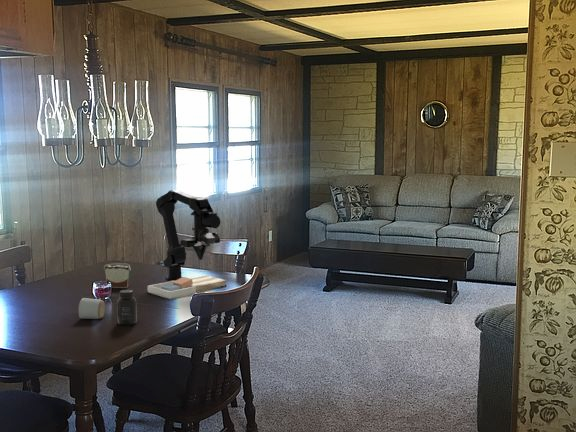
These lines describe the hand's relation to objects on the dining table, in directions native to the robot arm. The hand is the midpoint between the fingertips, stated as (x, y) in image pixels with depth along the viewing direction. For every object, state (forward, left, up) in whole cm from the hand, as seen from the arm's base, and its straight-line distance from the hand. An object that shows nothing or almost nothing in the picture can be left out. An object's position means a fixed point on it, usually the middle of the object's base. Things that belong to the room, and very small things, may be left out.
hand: (200, 259), depth 292 cm
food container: (-25, -27, -12) cm, 38 cm away
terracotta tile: (+2, -12, -10) cm, 15 cm away
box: (+2, -18, -12) cm, 21 cm away
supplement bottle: (+26, -56, -12) cm, 63 cm away
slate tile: (+2, -18, -11) cm, 21 cm away
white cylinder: (+10, -60, -12) cm, 63 cm away
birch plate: (+2, -2, -12) cm, 12 cm away
